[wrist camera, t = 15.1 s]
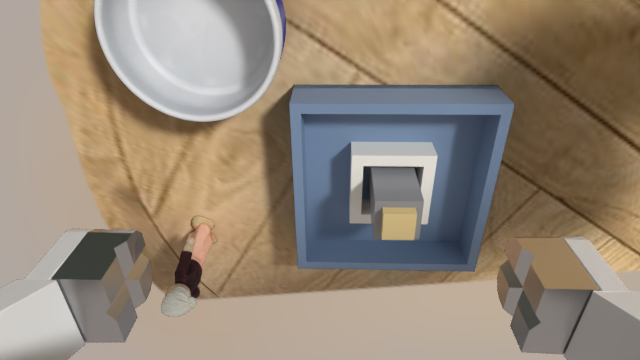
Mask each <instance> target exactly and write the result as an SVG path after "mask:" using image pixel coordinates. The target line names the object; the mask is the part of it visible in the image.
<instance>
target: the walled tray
mask: <svg viewBox="0 0 640 360" xmlns="http://www.w3.org/2000/svg"><path fill="white" fill-rule="evenodd" d="M514 106H515V104H514V103H513V102H512V101H511V100H510V99H509V97H508V96H507V95H506V94H505V93H504V92H503V91H502V90H501V89H500V88H499V87H498V86H497V85H294V88H293V91H292V95H291V99H290V103H289V107H290V126H291V146H292V165H293V184H294V204H295V223H296V243H297V262H298V268H308V269H364V270H421V271H475V268H476V264H477V259H478V255H479V251H480V247H481V243H482V239H483V235H484V230H485V226H486V222H487V218H488V214H489V210H490V205H491V201H492V197H493V193H494V189H495V185H496V181H497V176H498V172H499V168H500V164H501V160H502V156H503V152H504V147H505V143H506V139H507V135H508V131H509V127H510V122H511V118H512V114H513V110H514ZM370 166H409V167H414V169H415V172H416V176H417V179H418V183H419V186H420V189H421V193H422V196H423V199H424V206H423V213H422V221H421V229H420V237H419V239H414V240H382V239H373V232H372V223H371V214H370V204H369V195H368V189H369V167H370Z"/></svg>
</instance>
